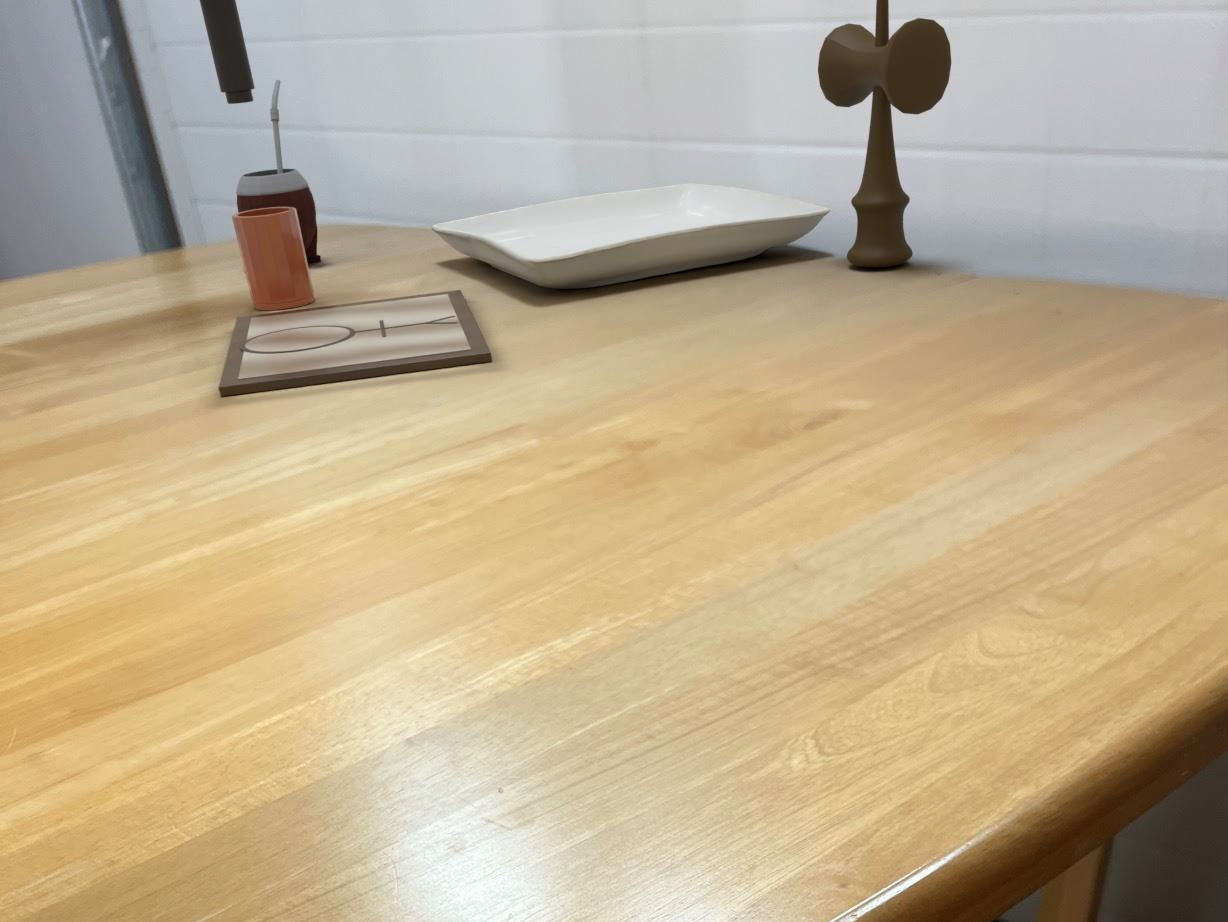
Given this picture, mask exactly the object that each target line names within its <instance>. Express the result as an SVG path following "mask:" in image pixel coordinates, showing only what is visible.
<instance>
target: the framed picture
mask: <svg viewBox="0 0 1228 922" xmlns="http://www.w3.org/2000/svg"><path fill="white" fill-rule="evenodd" d="M492 361H493V357H492V352H491V350H490V348H489V345H488V344H487V342H486V339H485V338H484V335H483V333H482V332H481V329H480V327H479V325H478V323H477V321H476V319H475V316H474V315H473V313H472V310H471V309H470V307H469V304H468V302H467V300H466V298H465V295H464V294H463V291H462V289H456V290H446V291H439V292H431V293H421V294H414V295H408V296H407V295H406V296H398V297H390V298H382V299H372V300H365V301H357V302H349V303H340V304H331V305H325V306H317V307H316V306H315V307H308V308H299V309H292V310H284V311H274V312H267V313H259V314H249V315H242V316H237V317H236V320H235V323H234V327H233V331H232V335H231V339H230V343H229V346H228V350H227V355H226V358H225V362H224V366H223V369H222V373H221V377H220V381H219V385H218V391H219V395H220V397H226V396H227V397H228V396H237V395H243V394H251V393H252V394H253V393H259V392H267V391H274V390H282V389H289V388H299V387H305V386H313V385H321V384H327V383H328V384H329V383H337V382H344V381H351V380H359V379H366V378H374V377H375V378H376V377H381V376H390V375H398V374H406V373H412V372H421V371H429V370H436V369H444V368H452V367H459V366H467V365H473V364H475V365H476V364H483V363H490V362H492Z"/></svg>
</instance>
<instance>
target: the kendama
mask: <svg viewBox="0 0 1228 922" xmlns="http://www.w3.org/2000/svg"><path fill="white" fill-rule="evenodd" d="M875 1H876V2H875V3H876V6H875V30H874V31H875V35H874V34H873V32H870V31H869V30H868V29H867V28H866V27H864V26H863V25H862V24H856V23H845V24H843V25H840V26H837V27H835V28H834V29H833V30H832V31H831V32H830V33H829V34H828V35H827V36H826V37H825V38H824V40H823V42H822V46H821V47H820V50H819V55H818V63H817V76H818V82H819V83H818V84H819V87H820V89H821V91H822V94H823V96H824V98H825V100H827V101H828V102H829V103H831V104H832V105H834V106H835V107H837V108H839V107H840V108H851V107H853V106H856V105H859V104H861V103H862V102H864V101H865V100H866V99H867V98H868V97H869V96H870V95H871V94H872V98H871V109H870V121H869V129H868V138H867V146H866V147H867V148H866V153H865V159H864V161H865V162H864V168H863V173H862V178H861V182H860V185H859V188H858V190H857V193H856V194H855V195H854V196H852V198H851V201H850V204H851V205H852V207H853V208H854V210H855V213H856V218H857V224H856V225H857V226H856V237H855V239H854V240H855V242H854V243H853V245H852V246H851V248H850V249H849V250H848V251H847V253H846V259H847V261H848V262H849V263H850V264H852V265H854V266H858V267H861V268H887V267H888V268H889V267H894V266H897V265H900V264H904V263H906V262H907V261H909V260H910V259H911V258H913V256H914V255H913V254H914V252H913V249H912V248H911V246H910V245H909V244H908V242H907V240H906V236H905V229H904V214H905V210H906V207H907V206H908V205H909V203H910V202H911V201H910V200H911V197H910V195H908V194H907V193H906V192H905V190H904V189H903V187H902V184H901V180H900V177H899V171H898V165H897V155H896V149H895V140H894V129H893V118H892V107H894V108H895V109H897V110H898V111H899V112H900V113H902V114H905V115H921V114H923V113H926V112H928V111H930V110H932V109H933V108H934V107H935V106H937V104H938V103H939V102H940V101H941V100H942V99H943V97H944V95H945V92H946V89H947V87H948V84H949V81H950V76H951V68H952V52H951V43H950V40H949V37H948V35H947V33H946V30H945V28H944V27H943V26H942V25H941V24H939V23H938V22H937V21H936V20H935V19H930V18H923V17H917V18H914V19H911V20H909V21H906V22H904V23H903V24H902V25H901V26H900V27H899V28H898V29H897V30H895V32H894V33H893V34H892V35H891V36H890V20H889V19H890V16H889V14H890V13H889V10H890V9H889V7H890V5H889V4H890V3H889V0H875Z"/></svg>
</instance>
